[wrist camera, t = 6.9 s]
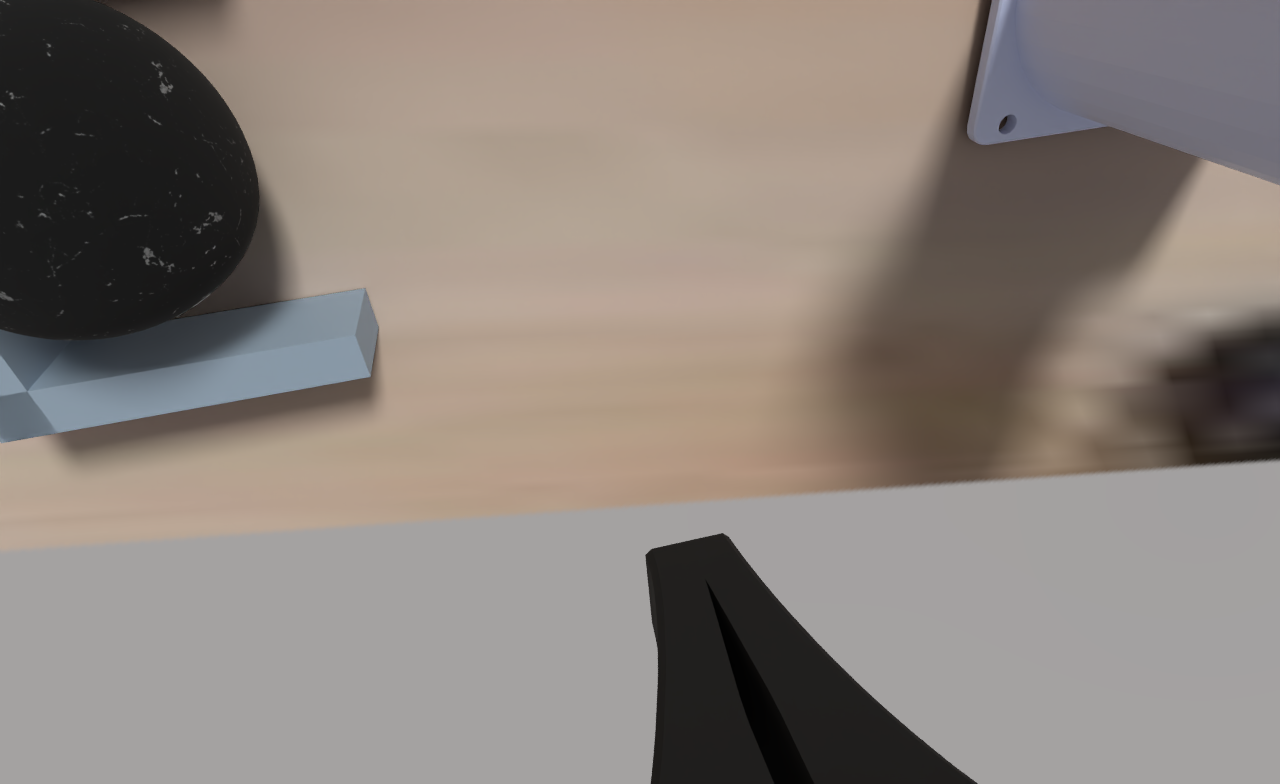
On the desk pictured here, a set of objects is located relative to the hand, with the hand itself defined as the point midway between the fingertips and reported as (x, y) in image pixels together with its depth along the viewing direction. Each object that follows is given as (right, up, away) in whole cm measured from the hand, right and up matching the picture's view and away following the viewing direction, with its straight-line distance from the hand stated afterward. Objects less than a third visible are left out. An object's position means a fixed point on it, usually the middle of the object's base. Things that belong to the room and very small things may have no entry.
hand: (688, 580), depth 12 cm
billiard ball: (-12, +9, +4) cm, 16 cm away
